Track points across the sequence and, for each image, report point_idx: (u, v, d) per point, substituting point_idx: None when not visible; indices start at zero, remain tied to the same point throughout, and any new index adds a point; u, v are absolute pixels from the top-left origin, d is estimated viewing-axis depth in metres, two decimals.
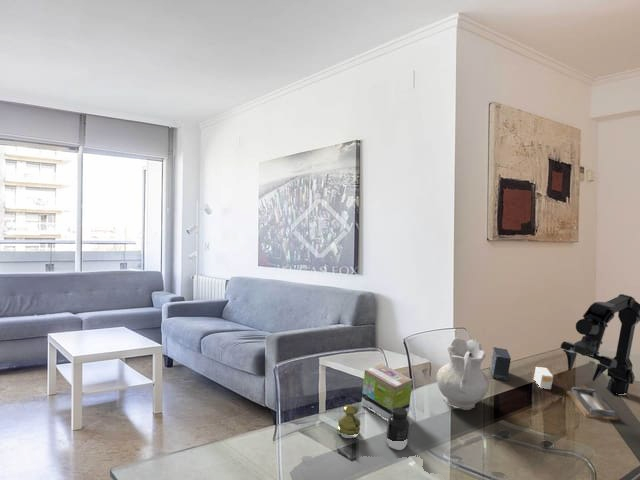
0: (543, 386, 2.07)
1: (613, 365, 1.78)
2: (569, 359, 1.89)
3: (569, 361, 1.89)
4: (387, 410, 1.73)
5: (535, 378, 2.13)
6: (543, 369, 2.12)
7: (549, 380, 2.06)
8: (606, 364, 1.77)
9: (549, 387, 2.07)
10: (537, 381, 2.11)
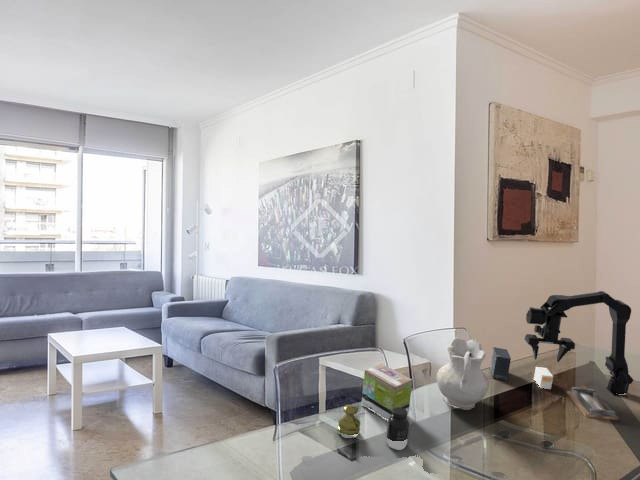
0: (543, 386, 2.07)
1: (526, 340, 2.08)
2: None
3: None
4: (387, 410, 1.73)
5: (535, 378, 2.13)
6: (543, 369, 2.12)
7: (549, 380, 2.06)
8: None
9: (549, 387, 2.07)
10: (537, 381, 2.11)
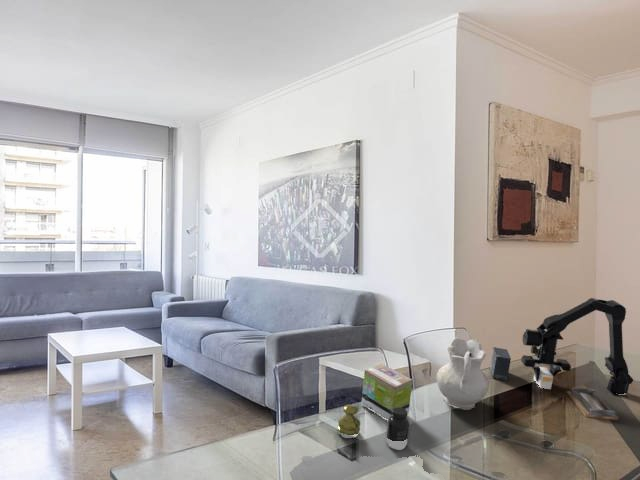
0: (543, 386, 2.07)
1: (523, 361, 2.10)
2: None
3: None
4: (387, 410, 1.73)
5: (535, 378, 2.13)
6: (543, 369, 2.12)
7: (549, 380, 2.06)
8: None
9: (549, 387, 2.07)
10: (537, 381, 2.11)
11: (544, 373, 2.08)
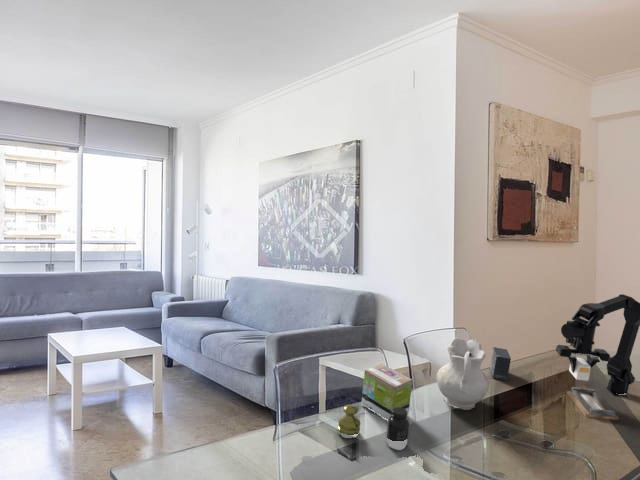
0: (580, 377, 1.95)
1: (558, 351, 1.98)
2: None
3: None
4: (387, 410, 1.73)
5: None
6: (579, 359, 2.00)
7: (586, 371, 1.94)
8: None
9: (586, 378, 1.95)
10: (573, 372, 1.98)
11: (581, 364, 1.96)
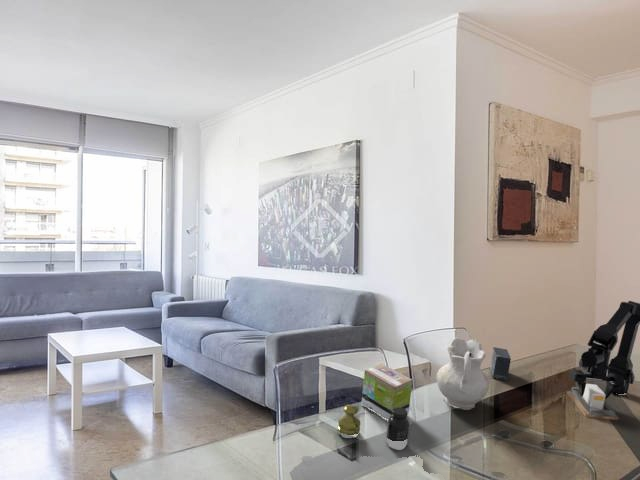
0: (594, 405, 1.91)
1: (572, 376, 1.94)
2: None
3: None
4: (387, 410, 1.73)
5: (584, 396, 1.97)
6: (593, 386, 1.96)
7: (601, 399, 1.90)
8: None
9: (601, 406, 1.91)
10: (587, 399, 1.95)
11: (595, 391, 1.92)
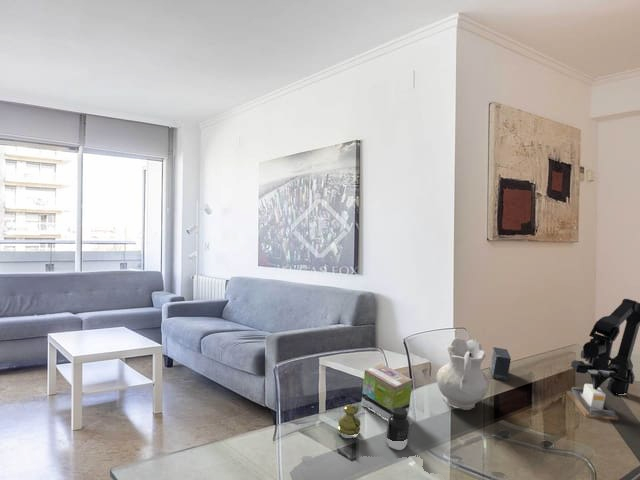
0: (594, 405, 1.91)
1: (573, 367, 1.93)
2: None
3: None
4: (387, 410, 1.73)
5: (584, 396, 1.97)
6: None
7: (601, 399, 1.90)
8: None
9: (601, 406, 1.91)
10: (587, 399, 1.95)
11: (595, 391, 1.92)
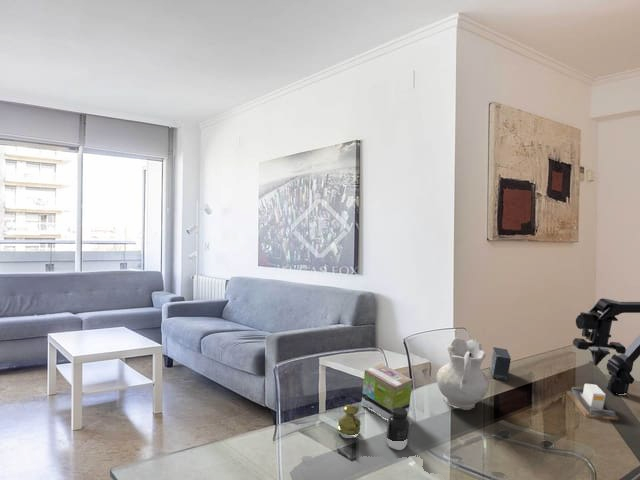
0: (594, 405, 1.91)
1: (575, 344, 2.05)
2: None
3: None
4: (387, 410, 1.73)
5: (584, 396, 1.97)
6: (593, 386, 1.96)
7: (601, 399, 1.90)
8: None
9: (601, 406, 1.91)
10: (587, 399, 1.95)
11: (595, 391, 1.92)
